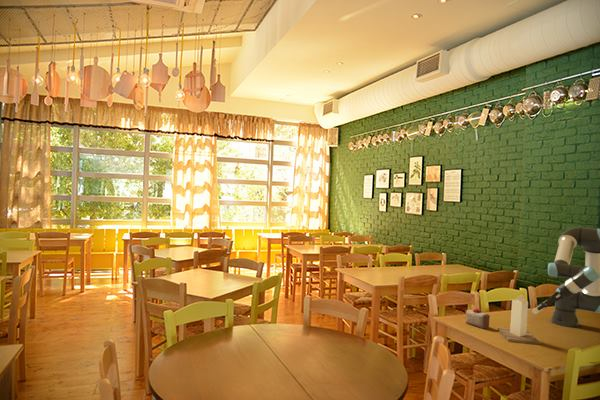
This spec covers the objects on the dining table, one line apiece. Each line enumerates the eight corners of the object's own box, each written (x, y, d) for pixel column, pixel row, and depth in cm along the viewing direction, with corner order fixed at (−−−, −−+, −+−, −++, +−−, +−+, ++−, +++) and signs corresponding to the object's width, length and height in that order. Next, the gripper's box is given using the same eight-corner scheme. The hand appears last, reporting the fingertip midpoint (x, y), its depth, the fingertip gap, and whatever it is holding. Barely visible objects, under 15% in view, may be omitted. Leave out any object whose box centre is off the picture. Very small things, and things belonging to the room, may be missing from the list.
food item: (463, 323, 266) (463, 307, 266) (471, 321, 270) (472, 305, 270) (482, 329, 254) (483, 312, 254) (491, 327, 259) (492, 311, 258)
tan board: (497, 330, 254) (497, 327, 254) (526, 333, 252) (526, 330, 252) (507, 341, 235) (508, 338, 235) (539, 344, 232) (539, 341, 232)
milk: (526, 335, 242) (529, 296, 242) (519, 336, 239) (522, 297, 238) (515, 332, 247) (518, 293, 247) (509, 333, 244) (512, 294, 244)
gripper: (571, 297, 216) (536, 320, 226) (578, 290, 235) (546, 312, 245) (559, 285, 220) (525, 308, 230) (568, 279, 239) (536, 301, 249)
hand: (536, 310), depth 237 cm, fingers open, 13 cm apart
